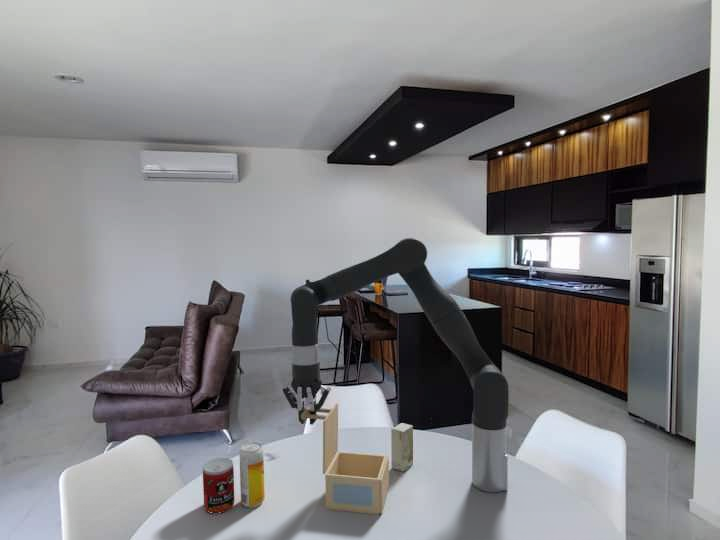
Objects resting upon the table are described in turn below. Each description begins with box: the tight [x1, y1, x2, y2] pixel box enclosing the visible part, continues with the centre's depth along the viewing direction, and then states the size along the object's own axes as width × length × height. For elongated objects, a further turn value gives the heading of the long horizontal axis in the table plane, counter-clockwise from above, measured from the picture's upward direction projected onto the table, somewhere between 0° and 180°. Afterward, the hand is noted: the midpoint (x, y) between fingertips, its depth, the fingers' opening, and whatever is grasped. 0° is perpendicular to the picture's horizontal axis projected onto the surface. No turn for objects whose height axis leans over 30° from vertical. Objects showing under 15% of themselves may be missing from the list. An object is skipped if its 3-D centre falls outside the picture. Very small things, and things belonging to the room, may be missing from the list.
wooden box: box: [324, 451, 390, 516], centre depth 117 cm, size 15×13×9 cm
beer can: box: [239, 442, 265, 509], centre depth 115 cm, size 6×6×15 cm
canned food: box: [202, 457, 235, 513], centre depth 114 cm, size 8×8×11 cm
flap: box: [300, 402, 339, 475], centre depth 118 cm, size 14×13×8 cm
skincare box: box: [390, 422, 414, 472], centre depth 133 cm, size 6×4×12 cm
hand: (307, 422), depth 119 cm, fingers closed on flap, 2 cm apart
